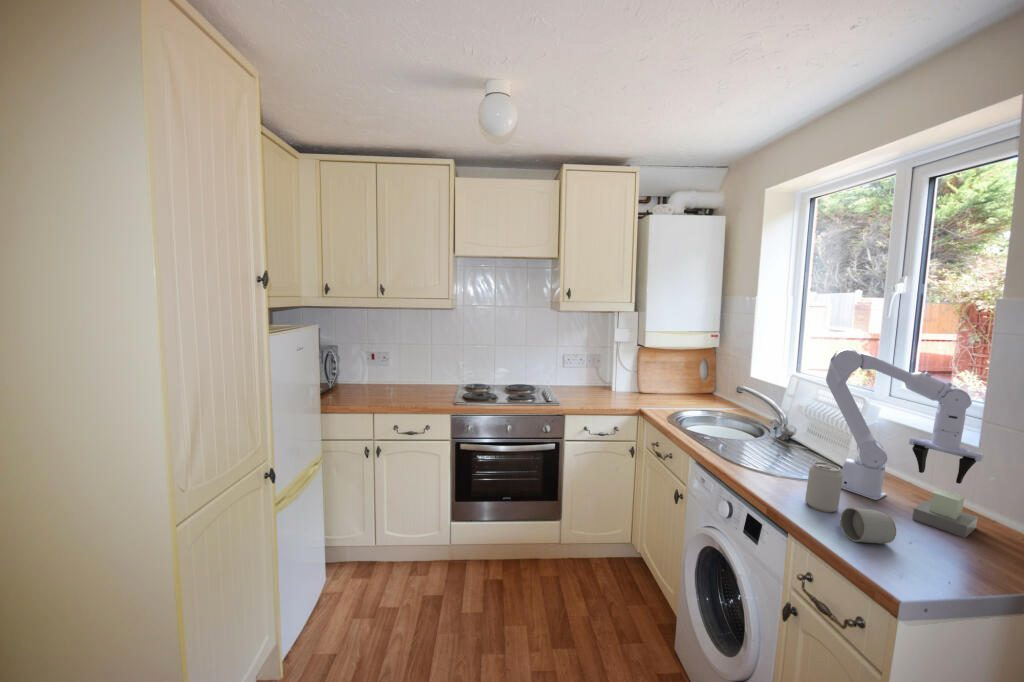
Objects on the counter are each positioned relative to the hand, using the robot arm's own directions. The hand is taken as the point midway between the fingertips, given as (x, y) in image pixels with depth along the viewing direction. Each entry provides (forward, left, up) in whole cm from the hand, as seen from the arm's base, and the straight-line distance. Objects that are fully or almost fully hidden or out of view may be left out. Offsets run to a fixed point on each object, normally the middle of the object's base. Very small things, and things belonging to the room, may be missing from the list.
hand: (939, 477), depth 121 cm
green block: (+4, -9, -6) cm, 12 cm away
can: (-16, -30, -10) cm, 35 cm away
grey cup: (-4, -39, -10) cm, 40 cm away
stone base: (+4, -9, -9) cm, 14 cm away
